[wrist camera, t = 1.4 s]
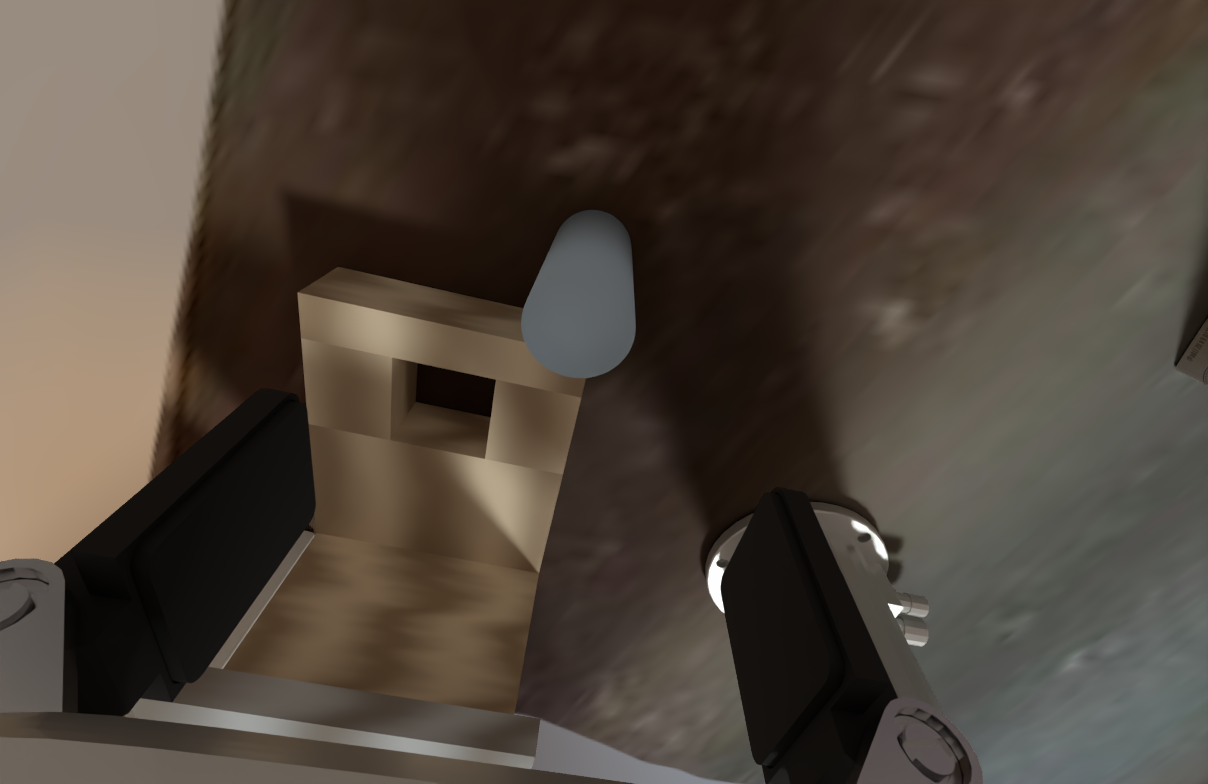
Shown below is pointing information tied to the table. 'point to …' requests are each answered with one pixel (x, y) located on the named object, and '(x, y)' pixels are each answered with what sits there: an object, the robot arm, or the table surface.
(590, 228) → the peg
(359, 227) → the table surface
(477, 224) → the table surface
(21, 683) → the robot arm
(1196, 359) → the coffee box
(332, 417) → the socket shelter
